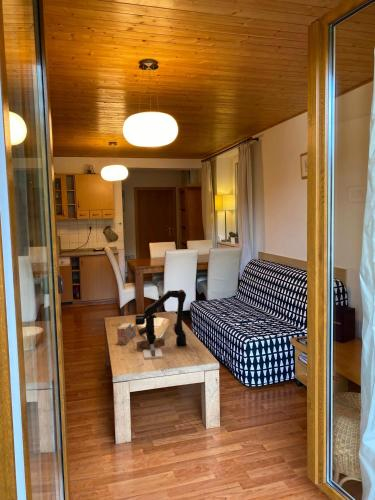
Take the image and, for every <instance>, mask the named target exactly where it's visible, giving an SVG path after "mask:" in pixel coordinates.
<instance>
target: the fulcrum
mask: <svg viewBox="0 0 375 500" xmlns="http://www.w3.org/2000/svg"><path fill="white" fill-rule="evenodd" d="M142 353H143V358H144V360H157V359H158V360H159V359H163V358H164V356H163V351H162V349H161V348H160V347H159V348H156V347H154V344H150V348H148V349H143V350H142Z"/></svg>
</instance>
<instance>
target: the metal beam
mask: <svg viewBox="0 0 375 500" xmlns="http://www.w3.org/2000/svg"><path fill="white" fill-rule="evenodd" d="M165 341H166V340H165V338H164V337H156V339H155V340H154V343H153V344H154V348H157V347H162V345H163V346H165ZM135 344H136V345H135V346H136V349H137V350H138V351H143V350H148V349H150V343H149V340H147V339H146V340H145V339H144V340H140V341H136V343H135Z"/></svg>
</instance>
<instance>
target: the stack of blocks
mask: <svg viewBox="0 0 375 500" xmlns="http://www.w3.org/2000/svg"><path fill="white" fill-rule="evenodd" d="M136 326H137V325H136V323H125V322H124V323H122V324H121V325H120V326H119V327H117V332H116V333H117V345H121V344H122V345H125V346H126V345H127V344H128V343H130V342H131V341H132V339H134V338H135V337H136V336H137V327H136ZM122 345H121V346H122Z"/></svg>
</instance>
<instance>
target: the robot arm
mask: <svg viewBox="0 0 375 500" xmlns="http://www.w3.org/2000/svg"><path fill="white" fill-rule="evenodd" d="M170 298H175V299H177V311H176V321H175V323H173V327H172V329H173V330H172V331H173V332H174V334H175V335H176V338H175V345H176V346H177V347H184V346H185V347H186V346H187V334H186V332H185V330H184V329H183V314H184V313H183V312H184V304H185V301H186V298H187V293H186V291H184V290H183V289H179V290H167V291H166V292H165V293H164V294H163V295H162V296H161V297H160V298H158V299H157V300H156V301H154V302H153V303H150V304H149V305H147V306H146V308H145V311H144V312H143V314H140V315H139V314H136V315H135V319H134V321H135V326H141V325H142V326H143V325H145V327H141V328H139V329H138V330H137V331H138V335H139V336H143V335H145V336H146V340H149V343H150V344H153V343H154V340H155V339H156V338H157V336H156V334H155V333H156V332H155V319H157V315H156V314H155V312H156V311H157V310H158V309H159V308H160V306H162V305H163V304H164V303H165V302H167V301H168V300H169V299H170Z"/></svg>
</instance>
